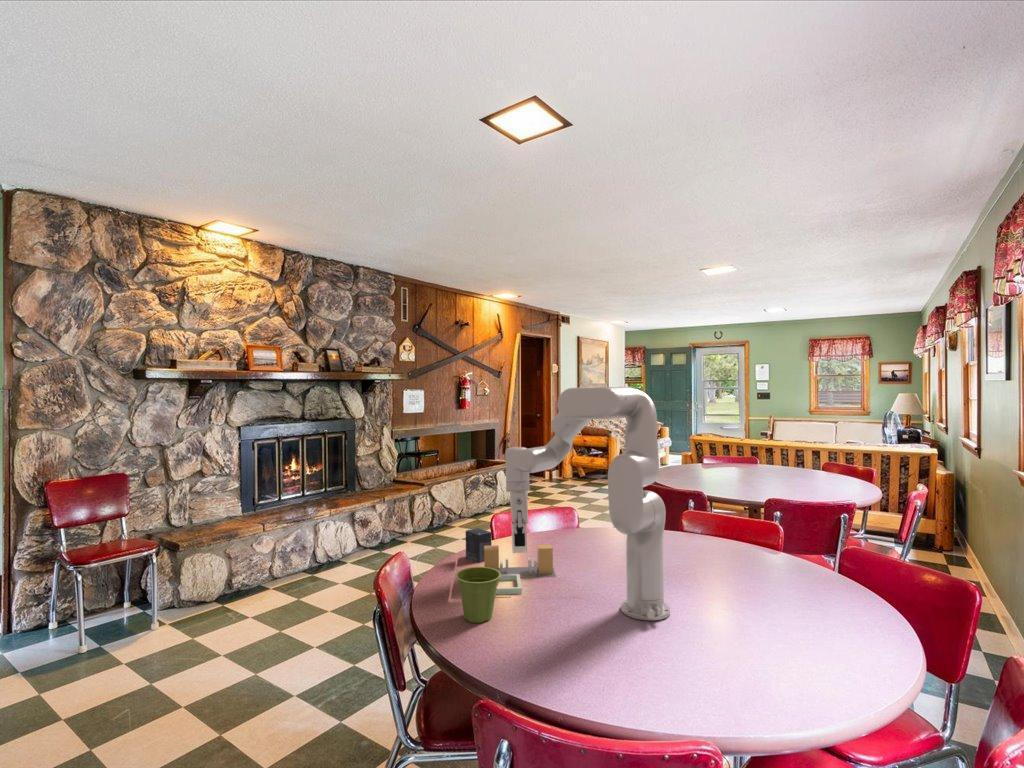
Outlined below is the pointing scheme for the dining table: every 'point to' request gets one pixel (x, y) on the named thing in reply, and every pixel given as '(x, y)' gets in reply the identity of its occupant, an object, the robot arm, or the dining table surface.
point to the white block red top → (515, 549)
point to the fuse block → (539, 570)
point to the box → (477, 544)
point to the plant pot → (478, 592)
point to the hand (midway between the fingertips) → (519, 543)
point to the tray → (510, 589)
